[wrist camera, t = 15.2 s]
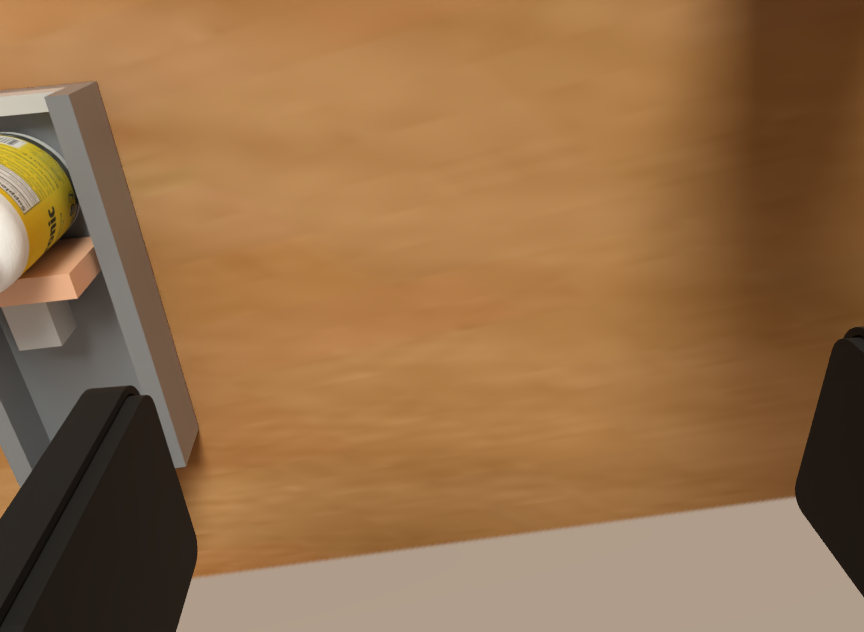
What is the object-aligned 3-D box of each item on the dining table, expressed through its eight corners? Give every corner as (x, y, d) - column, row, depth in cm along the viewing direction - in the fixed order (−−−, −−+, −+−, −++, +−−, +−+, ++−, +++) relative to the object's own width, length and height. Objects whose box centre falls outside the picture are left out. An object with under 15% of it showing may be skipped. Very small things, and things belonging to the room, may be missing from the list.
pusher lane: (-105, 100, 31) (-217, 135, 25) (96, 81, 32) (33, 111, 26) (45, 447, 41) (-10, 534, 35) (199, 428, 41) (170, 511, 35)
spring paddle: (-30, 249, 34) (-84, 290, 29) (104, 234, 34) (68, 273, 30) (3, 324, 35) (-44, 372, 31) (128, 310, 36) (98, 356, 32)
